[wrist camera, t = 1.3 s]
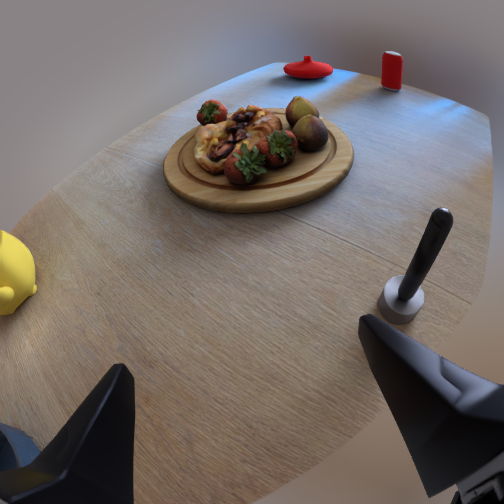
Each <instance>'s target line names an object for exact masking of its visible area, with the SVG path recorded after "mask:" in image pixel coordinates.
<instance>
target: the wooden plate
mask: <svg viewBox="0 0 504 504" xmlns="http://www.w3.org/2000/svg"><path fill="white" fill-rule="evenodd" d="M197 111H199V112H198V114H197V120H198V122H200V125H199V126H197V127H195V128H193V129H192V130H190V131H189V132H187V133H186V134H185V135H183V136H182V137H181V138H180V139H179V140H178V141H176V142H175V144H174V145H173V146H172V147H171V149H170V150H169V152H168V154H167V156H166V158H165V161H164V165H163V174H164V178H165V181H166V183H167V185H168V186H169V188H170V189H171V190H172V191H173V192H174V193H175V194H176V195H177V196H178V197H180V198H181V199H183V200H185V201H186V202H188V203H191V204H193V205H196V206H199V207H202V208H206V209H210V210H215V211H221V212H232V213H252V212H266V211H274V210H279V209H283V208H288V207H292V206H295V205H298V204H302V203H305V202H307V201H310V200H313V199H315V198H317V197H319V196H321V195H323V194H325V193H327V192H328V191H330V190H332V189H333V188H334V187H336V186H337V185H338V184H339V183H340V182H341V181H342V180H343V179H344V178H345V177H346V175H347V174H348V173H349V171H350V169H351V167H352V164H353V159H354V151H353V147H352V144H351V142H350V140H349V138H348V137H347V135H346V134H345V133H344V132H343V131H342V130H341V129H340V128H339V127H337V126H336V125H335V124H333V123H332V122H330V121H328V120H326V119H324V118H322V117H319V112H318V110H317V108H316V107H315V106H314V105H313V104H312V103H311V102H310V101H308V100H307V99H305V98H303V97H300V96H299V97H298V96H295V97H294V98H293V99H292V101H291V102H290V103H289V105H288V106H287V108H286V109H281V108H262V109H261V108H260V107H257V106H254V105H248V107H247V109H244V108H243V107H241V108H239V109H238V110H237V111H236V112H234V113H230V114H228V112H227V109H226V108H225V107H224V106H223V105H222V104H221V103H220V102H219V101H216V100H209V101H206V102H205V103H204V104H203V105H202V107H201V109H200V110H197Z"/></svg>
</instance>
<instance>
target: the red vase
mask: <svg viewBox="0 0 504 504" xmlns="http://www.w3.org/2000/svg"><path fill="white" fill-rule="evenodd" d="M283 69H284V72H285V73H286V74H288V75H291V76H293V77H296V78H303V79H317V78H323V77H326V76H328V75H330V74H332V72H333V68H332V67H331V66H330V65H328V64H325V63H320V62H315V61H312V60H311V56H304V61H300V62H294V63H289V64H287V65H285V67H284V68H283Z"/></svg>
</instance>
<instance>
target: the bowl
mask: <svg viewBox="0 0 504 504" xmlns="http://www.w3.org/2000/svg"><path fill="white" fill-rule="evenodd" d="M40 453H41V452H40V450H39V449H38V448H37V446H36V445H35V443H34V442H33V441H32V439H31V438H30V437H29V436H28V435H27V434H25V433H24V432H23V431H22V430H20V429H17V428H14V427H11V426H8V425H6V424H3V423H0V471H5V470H11V469H16V468H21V467H24V466H26V465H28V464H30V463H31V462H32V461H33V460H34V459H35V458H36V457H37V456H38V455H39V454H40Z"/></svg>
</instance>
